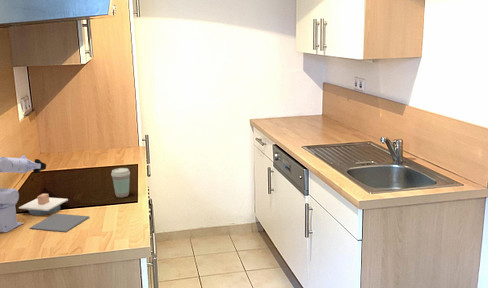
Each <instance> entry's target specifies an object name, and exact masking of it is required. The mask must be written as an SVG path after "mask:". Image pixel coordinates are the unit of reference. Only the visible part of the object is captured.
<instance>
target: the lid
mask: <svg viewBox="0 0 488 288" xmlns="http://www.w3.org/2000/svg"><path fill="white" fill-rule="evenodd" d="M68 201H69V199H68V198H61V197H50V196H49V193H41V194H39V195H38V196H36V198H35V199H33V200H31V201H29V202H27V203H25V204H23V205H20V206H19V207H18V209H19V210H28V211H29V210H40V211H49V210H51V209H53V208H55V207H57V206H58V205H60V206H61V205H62V204H63V203H66V202H68Z"/></svg>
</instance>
